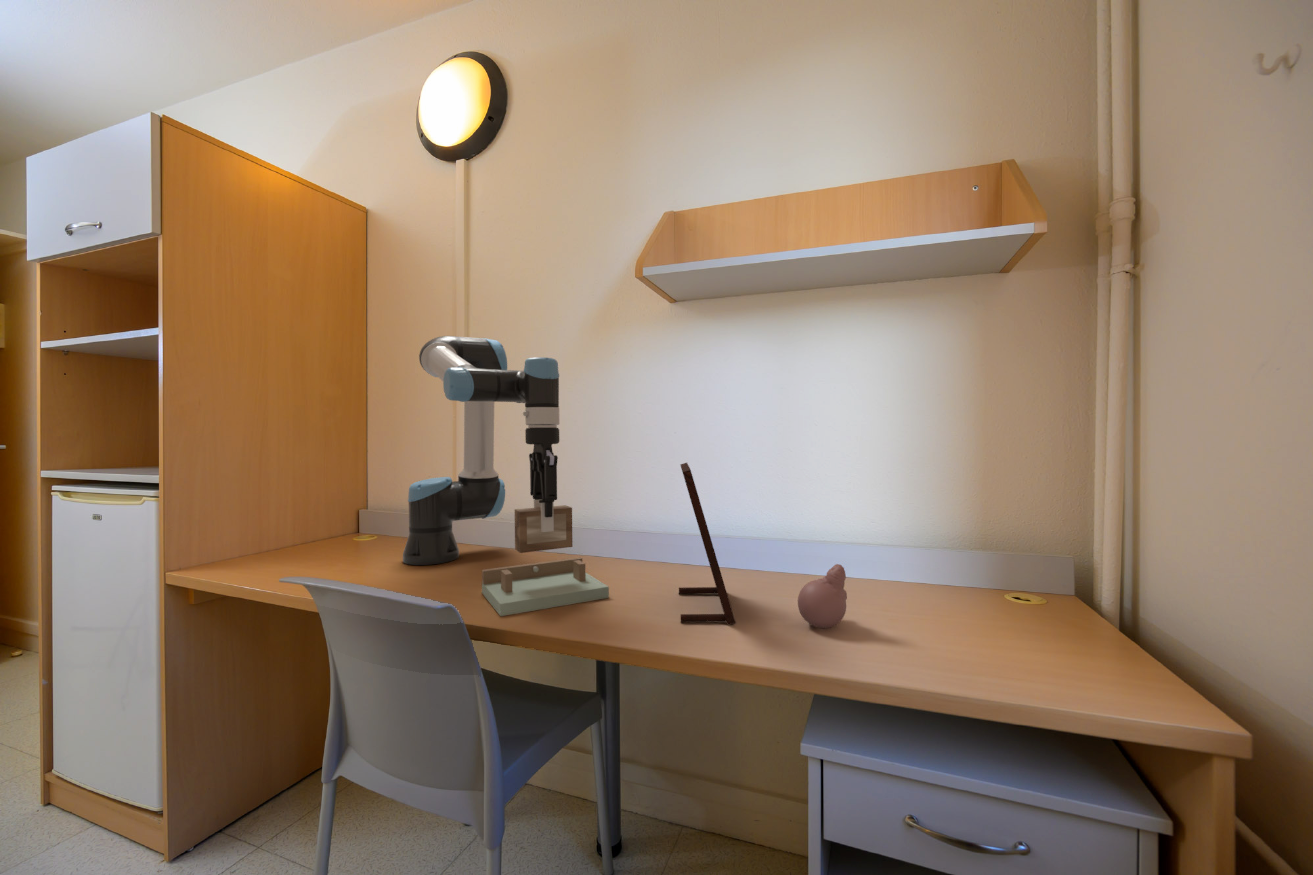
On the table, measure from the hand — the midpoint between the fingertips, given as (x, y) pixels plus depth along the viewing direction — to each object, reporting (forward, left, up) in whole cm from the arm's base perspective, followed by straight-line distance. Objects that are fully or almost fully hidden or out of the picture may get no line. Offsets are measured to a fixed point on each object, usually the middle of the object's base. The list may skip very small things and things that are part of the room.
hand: (543, 529), depth 126 cm
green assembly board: (0, 0, -15) cm, 15 cm away
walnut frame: (0, 0, -4) cm, 4 cm away
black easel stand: (+25, +27, -15) cm, 40 cm away
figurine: (+45, +41, -15) cm, 63 cm away
